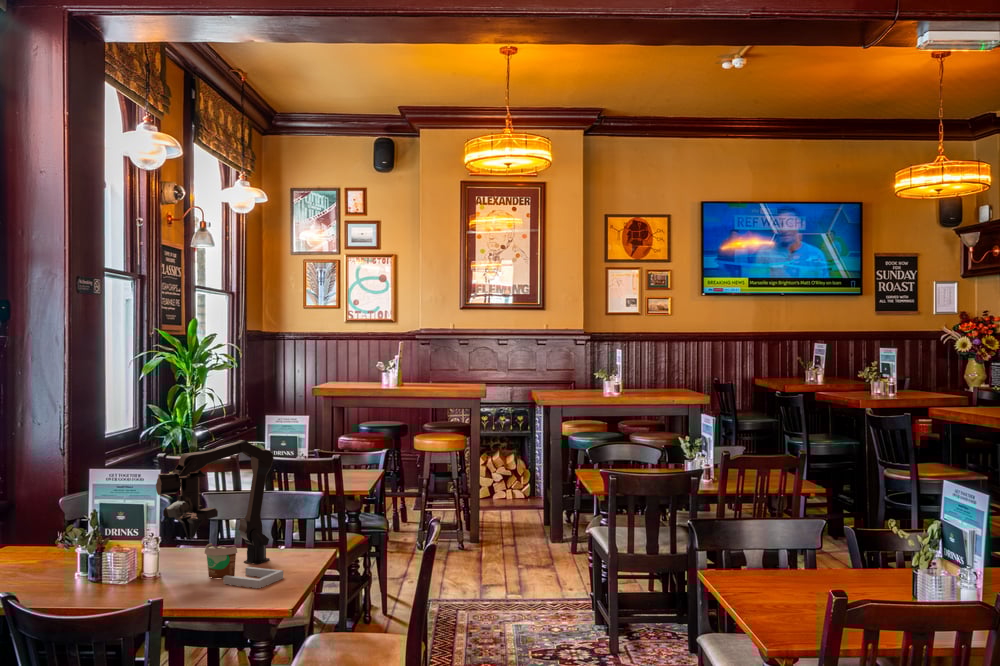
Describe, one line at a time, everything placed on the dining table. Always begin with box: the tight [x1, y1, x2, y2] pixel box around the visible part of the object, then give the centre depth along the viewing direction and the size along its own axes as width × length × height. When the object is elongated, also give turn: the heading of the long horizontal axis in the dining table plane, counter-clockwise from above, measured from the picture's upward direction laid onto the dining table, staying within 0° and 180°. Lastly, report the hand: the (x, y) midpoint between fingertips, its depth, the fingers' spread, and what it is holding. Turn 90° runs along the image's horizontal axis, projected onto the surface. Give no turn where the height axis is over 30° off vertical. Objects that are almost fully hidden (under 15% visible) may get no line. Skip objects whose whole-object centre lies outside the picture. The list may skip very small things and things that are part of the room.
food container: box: [204, 542, 238, 579], centre depth 263 cm, size 12×6×10 cm, turn 62°
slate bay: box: [223, 566, 284, 589], centre depth 257 cm, size 12×14×2 cm
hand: (190, 538), depth 267 cm, fingers closed
